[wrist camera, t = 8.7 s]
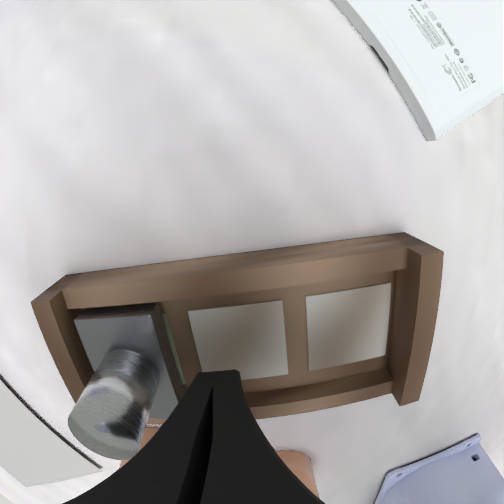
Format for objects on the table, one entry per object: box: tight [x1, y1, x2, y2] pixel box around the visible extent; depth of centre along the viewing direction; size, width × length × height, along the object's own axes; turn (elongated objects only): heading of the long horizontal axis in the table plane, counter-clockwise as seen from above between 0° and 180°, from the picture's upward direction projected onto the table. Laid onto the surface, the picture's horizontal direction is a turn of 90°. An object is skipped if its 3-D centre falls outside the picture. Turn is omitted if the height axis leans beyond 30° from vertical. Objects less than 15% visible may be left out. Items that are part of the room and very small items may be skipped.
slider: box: [68, 302, 185, 460], centre depth 10 cm, size 3×5×5 cm, turn 7°
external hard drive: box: [332, 0, 504, 141], centre depth 9 cm, size 2×8×12 cm
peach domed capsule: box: [276, 450, 319, 498], centre depth 14 cm, size 4×4×4 cm
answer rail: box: [31, 232, 444, 424], centre depth 12 cm, size 15×7×3 cm, turn 97°
